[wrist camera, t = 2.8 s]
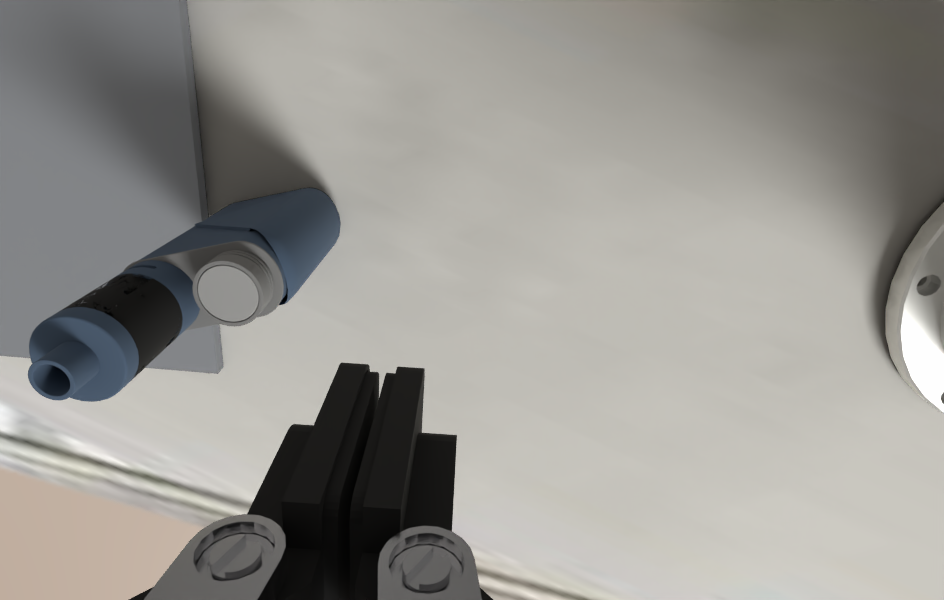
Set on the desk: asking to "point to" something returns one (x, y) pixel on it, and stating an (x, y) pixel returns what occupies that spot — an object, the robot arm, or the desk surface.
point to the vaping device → (184, 292)
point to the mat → (95, 157)
